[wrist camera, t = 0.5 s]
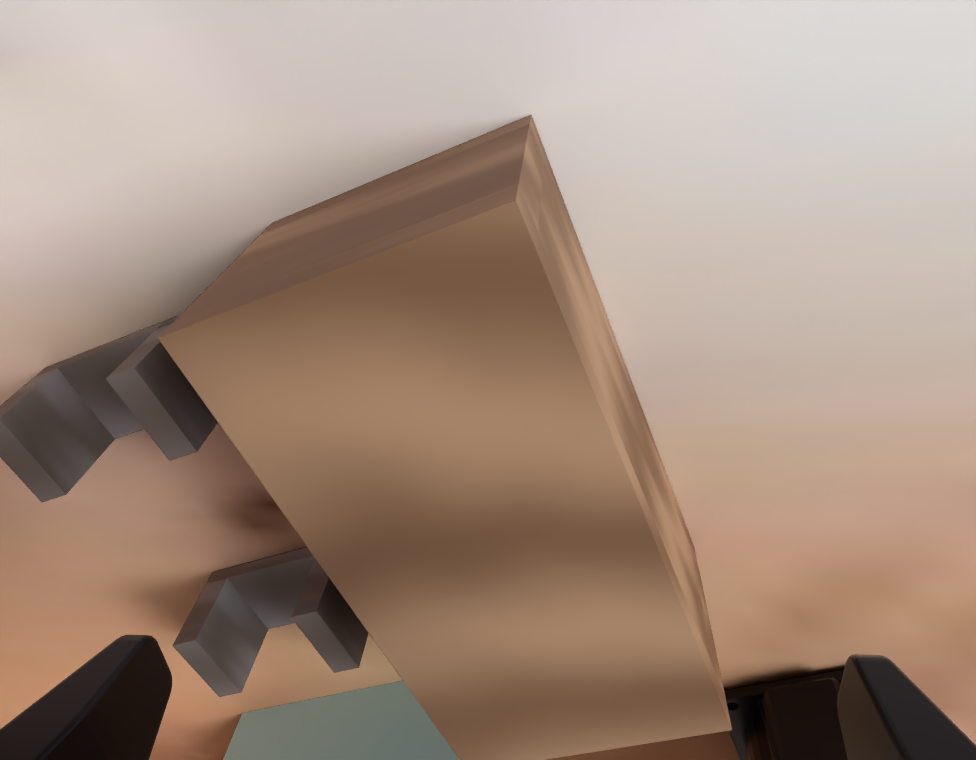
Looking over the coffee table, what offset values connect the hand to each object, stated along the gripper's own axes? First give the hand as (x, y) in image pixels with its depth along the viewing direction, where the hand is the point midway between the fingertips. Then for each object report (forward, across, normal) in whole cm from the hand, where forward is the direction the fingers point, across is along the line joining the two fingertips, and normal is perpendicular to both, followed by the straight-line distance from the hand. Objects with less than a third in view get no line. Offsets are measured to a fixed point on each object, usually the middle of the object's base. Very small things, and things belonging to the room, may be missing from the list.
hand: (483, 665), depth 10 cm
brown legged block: (+14, +6, +6) cm, 16 cm away
